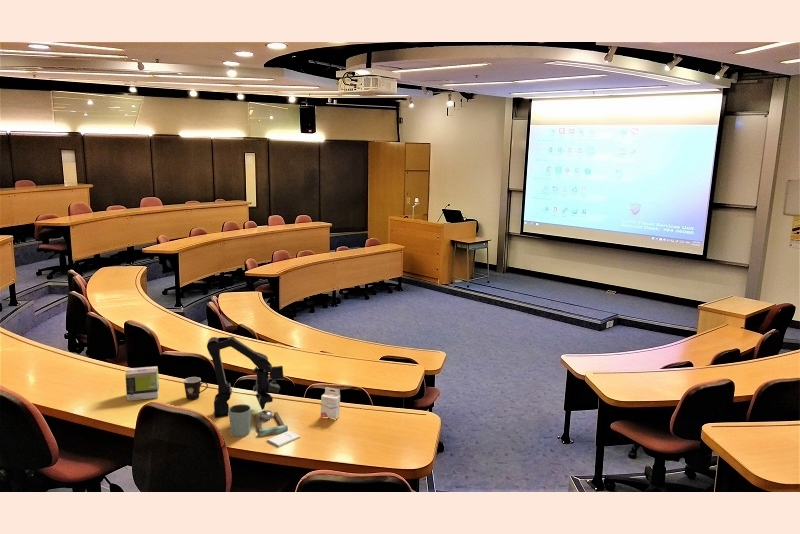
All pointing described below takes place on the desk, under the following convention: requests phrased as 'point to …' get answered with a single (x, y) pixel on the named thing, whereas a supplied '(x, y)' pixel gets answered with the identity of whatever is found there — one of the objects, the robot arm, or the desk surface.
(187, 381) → the coffee mug
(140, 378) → the tea box
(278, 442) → the external hard drive
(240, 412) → the pale green cup
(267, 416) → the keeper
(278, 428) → the channel
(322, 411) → the ink cartridge box
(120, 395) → the desk surface
